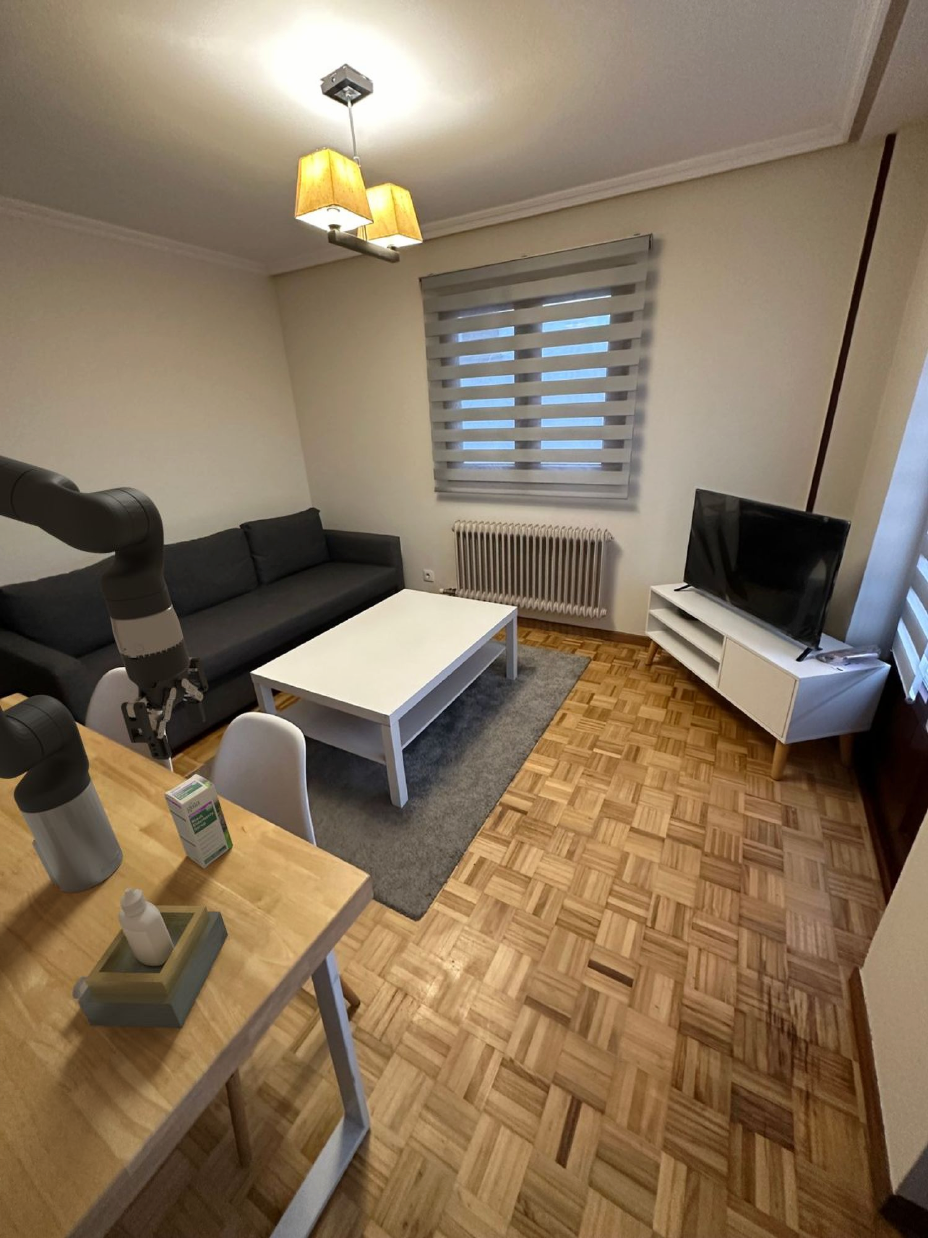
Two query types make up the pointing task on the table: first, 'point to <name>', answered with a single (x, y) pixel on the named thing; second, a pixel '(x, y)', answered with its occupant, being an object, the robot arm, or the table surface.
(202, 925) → the grey gold open box
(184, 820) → the syrup box
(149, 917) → the eye dropper bottle
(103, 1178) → the table surface
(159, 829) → the table surface
